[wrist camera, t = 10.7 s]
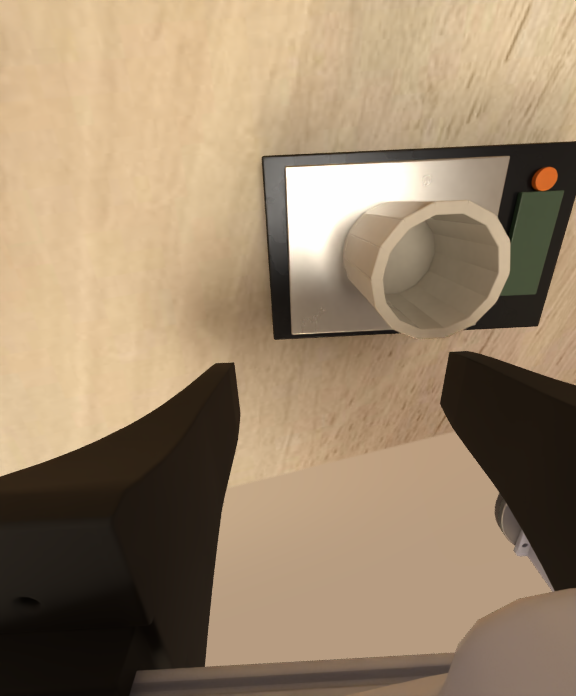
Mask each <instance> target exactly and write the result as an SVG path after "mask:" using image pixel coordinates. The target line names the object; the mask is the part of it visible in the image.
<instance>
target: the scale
mask: <svg viewBox="0 0 576 696" xmlns="http://www.w3.org/2000/svg"><path fill="white" fill-rule="evenodd" d="M262 169H263V184H264V199H265V214H266V229H267V244H268V259H269V274H270V289H271V304H272V319H273V334H274V339H275V340H279V339H298V338H318V337H337V336H357V335H376V334H396V333H400V332H398V331H395V330H393V329H392V328H390V326H389V325H388V324H387V323H386V322H385V321H384V320H383V319H382V317H381V316H380V315H379V314H378V313H377V312H376V311H375V310H374V308H373V307H372V306H371V305H370V304H369V303H368V302H367V301H366V300H365V298H364V297H363V296H362V295H361V294H360V293H359V291H358V290H357V289H356V288H355V286H354V285H353V284H352V283H351V282H350V280H349V278H348V276H347V274H346V272H345V269H344V264H343V248H344V243H345V240H346V237H347V235H348V233H349V231H350V229H351V227H352V226H353V224H354V223H355V222H356V220H357V219H358V218H359V217H360V216H361V215H362V214H363V213H365V212H366V211H367V210H369V209H370V208H372V207H374V206H376V205H378V204H381V203H385V202H388V201H406V200H470V201H472V202H474V203H475V204H477V205H479V206H481V207H483V208H485V209H487V210H489V211H491V212H492V213H494V214H495V215H496V216H497V217H498V219H499V221H500V223H501V225H502V227H503V228H504V230H505V232H506V234H507V236H508V237H509V239H510V272H509V273H510V274H509V276H508V278H507V280H506V282H505V285H504V287H503V289H502V291H501V293H500V296H499V298H498V300H497V301H496V303H495V304H494V305H493V306H492V307H491V308H490V309H489V310H488V311H487V312H486V313H485V314H484V315H483V316H482V317H481V318H480V319H479V320H478V321H477V322H476V323H475V324H473V325H472V326H470V327H468V328H466V329H464V330H474V329H493V328H513V327H532V326H538V324H539V321H540V317H541V314H542V310H543V307H544V303H545V300H546V297H547V293H548V290H549V286H550V283H551V279H552V276H553V273H554V269H555V266H556V262H557V259H558V255H559V252H560V248H561V245H562V242H563V238H564V235H565V231H566V228H567V224H568V221H569V217H570V214H571V211H572V207H573V204H574V200H575V197H576V141H572V142H550V143H529V144H508V145H486V146H465V147H444V148H423V149H401V150H380V151H359V152H337V153H316V154H295V155H274V156H263V157H262Z"/></svg>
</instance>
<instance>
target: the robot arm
mask: <svg viewBox="0 0 576 696" xmlns="http://www.w3.org/2000/svg"><path fill="white" fill-rule="evenodd" d="M440 405H441V407H442V409H443V411H444V413H445V415H446V417H447V419H448V420H449V422H450V424H451V426H452V428H453V429H454V431H455V432H456V433H457V435H458V436H459V438H460V439H461V440H462V442H463V443H464V445H465V446H466V447H467V449H468V450H469V451H470V453H471V454H472V455H473V457H474V458H475V459H476V461H477V462H478V463H479V465H480V466H481V468H482V469H483V470H484V472H485V473H486V474H487V476H488V477H489V478H490V479H491V481H492V482H493V484H494V485H495V487H496V488H497V489H498V491H499V493H500V494H501V495H502V497H503V498H504V500H505V502H506V503H507V505H508V507H509V509H510V510H511V512H512V514H513V515H514V517H515V519H516V520H517V522H518V524H519V525H520V527H521V531H520V534H519V537H518V539H517V542H516V545H515V548H514V552H515V553H516V555H517V556H528V558H529V559H530V560H531V562H532V563H533V565H534V566H535V568H536V569H537V570H538V572H539V573H540V574H541V576H542V578H543V579H544V580H545V582H546V583H547V585H548V586H549V587H550V589H551V590H552V592H550V593H545V594H540V595H535V596H530V597H525V598H520V599H517V600H516V601H513V602H512V603H510V604H508V605H506V606H504V607H502V608H500V609H498V610H496V611H494V612H492V613H490V614H488V615H487V616H485V617H483V618H481V619H479V620H478V621H477V622H476V623H475V625H474V626H473V627H472V628H471V629H470V631H469V632H468V633H467V634H466V635H465V637H464V638H463V639H462V641H461V642H460V643H459V644H458V646H457V649H456V652H455V653H439V654H422V655H404V656H387V657H370V658H352V659H337V660H336V659H334V660H319V661H318V660H317V661H301V662H300V661H299V662H282V663H267V664H266V663H264V664H247V665H230V666H212V667H205V658H206V647H207V635H208V625H209V616H210V606H211V596H212V586H213V577H214V568H215V560H216V551H217V543H218V535H219V527H220V519H221V512H222V507H223V502H224V497H225V492H226V489H227V484H228V480H229V476H230V472H231V467H232V463H233V459H234V455H235V450H236V446H237V441H238V434H239V424H240V406H239V398H238V389H237V381H236V373H235V365H234V363H216V364H214V365H213V366H212V367H210V368H209V369H208V370H207V371H205V372H204V373H203V374H202V375H201V376H199V377H198V378H197V379H196V380H195V381H193V382H192V383H191V384H190V385H188V386H187V387H186V388H185V389H183V390H182V391H181V392H179V393H178V394H177V395H175V396H174V397H173V398H171V399H170V400H168V401H167V402H166V403H164V404H163V405H161V406H160V407H158V408H157V409H155V410H154V411H152V412H151V413H149V414H147V415H146V416H144V417H142V418H141V419H139V420H137V421H135V422H134V423H132V424H130V425H128V426H126V427H124V428H122V429H120V430H118V431H116V432H114V433H112V434H110V435H108V436H106V437H104V438H102V439H100V440H98V441H96V442H93V443H91V444H89V445H86V446H84V447H82V448H79V449H77V450H75V451H72V452H70V453H67V454H64V455H62V456H59V457H57V458H54V459H51V460H49V461H46V462H43V463H41V464H38V465H35V466H31V467H28V468H25V469H22V470H19V471H16V472H13V473H10V474H7V475H4V476H1V477H0V696H576V386H575V385H572V384H569V383H566V382H562V381H559V380H556V379H553V378H550V377H547V376H544V375H541V374H538V373H535V372H532V371H529V370H526V369H523V368H521V367H518V366H515V365H512V364H509V363H506V362H503V361H500V360H498V359H495V358H492V357H488V356H485V355H482V354H478V353H474V352H469V351H461V352H449V357H448V363H447V368H446V374H445V379H444V385H443V390H442V396H441V401H440Z"/></svg>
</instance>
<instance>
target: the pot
mask: <svg viewBox="0 0 576 696" xmlns="http://www.w3.org/2000/svg"><path fill="white" fill-rule="evenodd" d="M343 264H344V269H345V272H346V274H347V276H348V278H349V280H350V282H351V283H352V284H353V285H354V286H355V288H356V289H357V290H358V291H359V293H360V294H361V295H362V296H363V297H364V298H365V300H366V301H367V302H368V303H369V304H370V305H371V306H372V307H373V308H374V310H375V311H376V312H377V313H378V314H379V315H380V316H381V317H382V319H383V320H384V321H385V322H386V323H387V324H388V325H389V326H390V328H392V329H393V330H395V331H398V332H400V333H402V334H405V335H407V336H410V337H412V338H414V339H434V338H445V337H449V336H451V335H453V334H455V333H457V332H459V331H462V330H464V329H466V328H468V327H470V326H472V325H473V324H475V323H476V322H477V321H478V320H479V319H480V318H481V317H482V316H483V315H484V314H485V313H486V312H487V311H488V310H489V309H490V308H491V307H492V306H493V305H494V304H495V303H496V301H497V300H498V298H499V296H500V293H501V291H502V289H503V287H504V285H505V282H506V280H507V278H508V276H509V274H510V273H509V272H510V239H509V237H508V236H507V234H506V232H505V230H504V228H503V227H502V225H501V223H500V221H499V219H498V217H497V216H496V215H495V214H494V213H492V212H491V211H489V210H487V209H485V208H483V207H481V206H479V205H477V204H475V203H474V202H472V201H470V200H406V201H388V202H385V203H381V204H378V205H376V206H374V207H372V208H370V209H369V210H367V211H366V212H365V213H363V214H362V215H361V216H360V217H359V218H358V219H357V220H356V222H355V223H354V224H353V226H352V227H351V229H350V231H349V233H348V235H347V237H346V240H345V243H344V248H343Z"/></svg>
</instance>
